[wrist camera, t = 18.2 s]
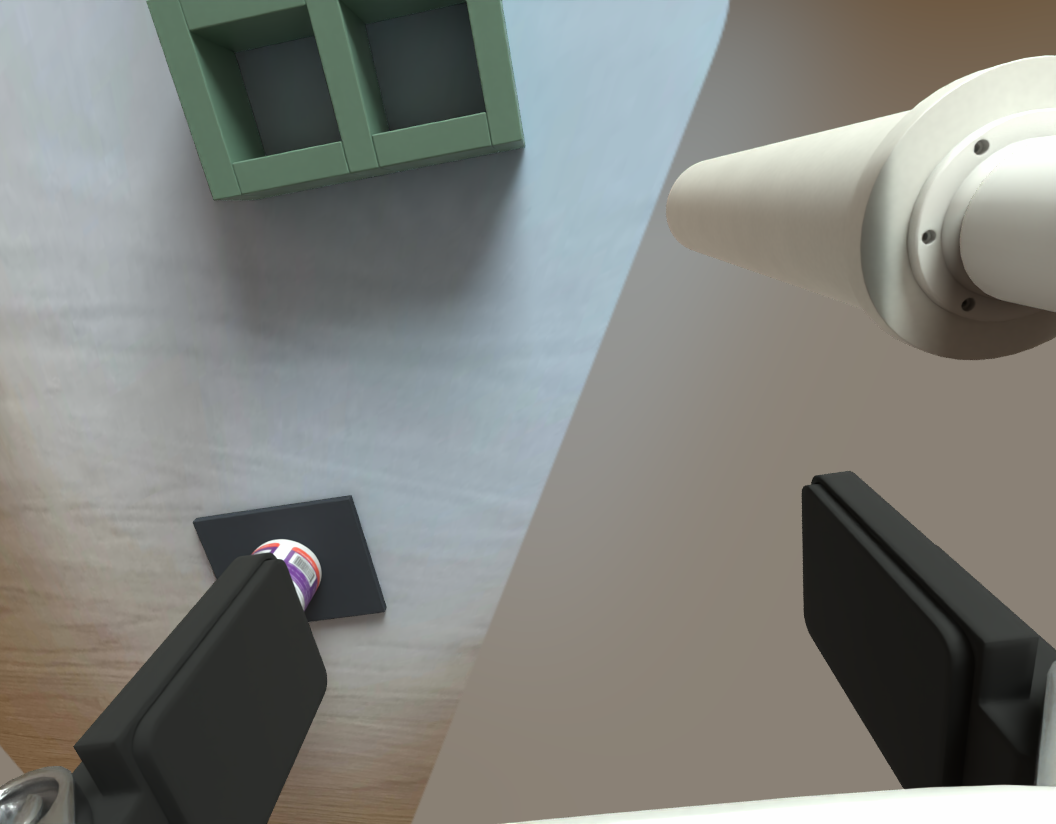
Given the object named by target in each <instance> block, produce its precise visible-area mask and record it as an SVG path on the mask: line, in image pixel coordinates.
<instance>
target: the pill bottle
mask: <svg viewBox="0 0 1056 824" xmlns="http://www.w3.org/2000/svg"><path fill="white" fill-rule="evenodd" d="M268 552H270V553H272V554H274V555H275V556H276V557H277V559H282V560H283V561H284V562H285V563H286V565H287V567H288V570H289V573H290V575H291V578H292V581H293V583H294V586H295V589H296V591H297V594H298V597H299V599H300V602H301V605H302V607H303V610H304V611H305V610H306V608H307V606H308V604H309V603H310V601H311V599H312V597H313V596H314V594H315V592H316V590H317V588H318V586H319V584H320V581H321V577H322V571H321V566H320V563H319V561H318V559H317V558H316V556H315V555H314V553H313V552H312V551H311V550H309V549H308V548H307V547H305V546H304V545H302V544H300V543H298V542H295V541H291V540H285V539H278V540H272V541H268V542H266V543H264V544H262V545H261V546H259V547H258V548H257V549H256V550H255V551H254V552H253V553H252V554H251V555H253V554H260V553H268Z"/></svg>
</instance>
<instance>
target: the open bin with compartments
mask: <svg viewBox="0 0 1056 824" xmlns="http://www.w3.org/2000/svg"><path fill="white" fill-rule="evenodd" d="M465 2H466V3H467V9H468V14H469V20H470V26H471V31H472V37H473V42H474V48H475V53H476V59H477V65H478V70H479V76H480V81H481V87H482V92H483V98H484V104H485V109H486V113H485V112H483V113H478V114H473V115H468V116H463V117H458V118H453V119H448V120H443V121H438V122H433V123H428V124H423V125H418V126H413V127H408V128H403V129H398V130H394V131H389V126H388V122H387V118H386V113H385V109H384V105H383V100H382V96H381V92H380V88H379V83H378V79H377V75H376V70H375V66H374V62H373V57H372V53H371V49H370V45H369V40H368V36H367V32H366V27H365V24H369V23H373V22H378V21H382V20H387V19H392V18H396V17H401V16H405V15H410V14H415V13H419V12H424V11H428V10H433V9H437V8H442V7H447V6H451V5H456V4H460V3H465ZM147 4H148V7H149V10H150V13H151V16H152V19H153V22H154V25H155V28H156V31H157V34H158V37H159V40H160V43H161V46H162V49H163V52H164V55H165V58H166V61H167V64H168V67H169V70H170V73H171V75H172V78H173V81H174V84H175V87H176V90H177V93H178V96H179V99H180V102H181V105H182V108H183V111H184V114H185V117H186V120H187V123H188V126H189V129H190V132H191V135H192V138H193V141H194V144H195V146H196V149H197V152H198V155H199V158H200V161H201V164H202V167H203V170H204V173H205V176H206V179H207V182H208V185H209V188H210V191H211V194H212V197H213V200H258V199H263V198H268V197H273V196H277V195H283V194H288V193H293V192H299V191H304V190H309V189H314V188H319V187H324V186H329V185H334V184H340V183H345V182H350V181H355V180H360V179H365V178H370V177H373V176H374V177H375V176H381V175H386V174H391V173H396V172H398V171H400V172H401V171H406V170H411V169H416V168H422V167H427V166H432V165H437V164H442V163H447V162H452V161H457V160H463V159H468V158H473V157H478V156H483V155H488V154H493V153H497V152H504V151H509V150H514V149H519V148H524V147H525V141H524V135H523V129H522V123H521V116H520V110H519V104H518V98H517V92H516V86H515V79H514V73H513V67H512V61H511V55H510V48H509V42H508V36H507V30H506V24H505V17H504V11H503V5H502V0H147ZM309 36H315V40H316V44H317V47H318V51H319V55H320V59H321V63H322V67H323V71H324V74H325V78H326V82H327V86H328V90H329V94H330V98H331V101H332V105H333V109H334V113H335V117H336V121H337V125H338V128H339V132H340V136H341V140H342V142H341V141H339V142H334V143H329V144H324V145H319V146H314V147H309V148H304V149H299V150H294V151H289V152H284V153H279V154H274V155H269V156H266V155H265V152H264V149H263V146H262V142H261V139H260V136H259V132H258V129H257V126H256V122H255V119H254V116H253V112H252V109H251V106H250V103H249V99H248V96H247V93H246V89H245V86H244V83H243V79H242V76H241V73H240V69H239V66H238V63H237V59H236V56H235V53H236V52H240V51H245V50H250V49H254V48H259V47H263V46H268V45H272V44H277V43H282V42H286V41H291V40H295V39H300V38H305V37H309ZM234 52H235V53H234Z"/></svg>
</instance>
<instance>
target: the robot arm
mask: <svg viewBox="0 0 1056 824" xmlns="http://www.w3.org/2000/svg"><path fill="white" fill-rule="evenodd" d="M974 147H975V149H974ZM923 234H924V236H923V238H922V235H923ZM907 246H908V255H909V263H910V266H911V269H912V272H913V275H914V278H915V279H916V281H917V283H918V284H919V286H920V288H921V289H922V291H923V292H924V293H925V294H926V295H927V296H928V297H929V298H930V299H931V300H932V301H933V302H934V303H935V304H936V305H938V306H940V307H941V308H943V309H945V310H946V311H948V312H950V313H953V314H956V315H959V316H962V317H965V318H970V319H974V320H979V321H1006V320H1012V319H1019V318H1022V317H1025V316H1028V315H1031V314H1034V313H1037V312H1039V311H1041V310H1048V311H1052V312H1056V109H1054V108H1052V109H1040V110H1031V111H1026V112H1021V113H1016V114H1012V115H1009V116H1006V117H1003V118H1001V119H998V120H995V121H993V122H990V123H988V124H987V125H985V126H983V127H981V128H980V129H978V130H976V131H975V132H973V133H971V134H970V135H968V136H967V137H966V138H965V139H963V140H962V141H961V142H960V143H958V144H957V145H956V146H955V147H953V148H952V149H951V150H950V151H949V152H948V154H947V155H946V156H945V157H944V158H943V159H942V160H941V161H940V162H939V163H938V165H937V166H936V167H935V168H934V170H933V171H932V173H931V174H930V176H929V177H928V179H927V180H926V182H925V183H924V185H923V187H922V189H921V191H920V194H919V196H918V198H917V200H916V202H915V204H914V208H913V212H912V215H911V219H910V222H909V230H908V241H907ZM802 534H803V535H802V536H803V595H804V596H803V597H804V618H805V623H806V626H807V629H808V631H809V634H810V635H811V637H812V639H813V641H814V642H815V644H816V646H817V647H818V649H819V651H820V652H821V654H822V655H823V657H824V659H825V660H826V662H827V664H828V665H829V667H830V668H831V670H832V672H833V673H834V675H835V677H836V678H837V680H838V682H839V683H840V685H841V687H842V688H843V690H844V691H845V693H846V695H847V696H848V698H849V700H850V701H851V703H852V705H853V706H854V708H855V710H856V711H857V713H858V715H859V716H860V718H861V720H862V721H863V723H864V724H865V726H866V728H867V729H868V731H869V733H870V734H871V736H872V737H873V739H874V741H875V742H876V744H877V746H878V747H879V749H880V751H881V752H882V754H883V756H884V757H885V759H886V761H887V762H888V764H889V765H890V767H891V769H892V770H893V772H894V774H895V775H896V777H897V779H898V780H899V782H900V784H901V785H902V787H903V788H904V789H901V790H888V791H887V790H886V791H872V792H859V793H844V794H831V795H816V796H802V797H791V798H780V799H768V800H757V801H745V802H735V803H723V804H712V805H701V806H689V807H678V808H666V809H655V810H644V811H633V812H621V813H610V814H599V815H590V816H589V815H588V816H578V817H567V818H557V819H546V820H535V821H525V822H515V823H503V824H1056V650H1055V649H1054V648H1053V647H1052V646H1051V645H1050V644H1048V643H1047V642H1046V641H1045V640H1044V639H1043V638H1042V637H1041V636H1039V635H1038V634H1037V633H1036V632H1035V631H1034V630H1033V629H1032V628H1030V627H1029V626H1028V625H1027V624H1026V623H1025V622H1024V621H1022V620H1021V619H1020V618H1019V617H1018V616H1017V615H1016V614H1014V613H1013V612H1012V611H1011V610H1010V609H1009V608H1008V607H1007V606H1005V605H1004V604H1003V603H1002V602H1001V601H1000V600H999V599H997V598H996V597H995V596H994V595H993V594H992V593H991V592H990V591H988V590H987V589H986V588H985V587H984V586H982V584H980V583H979V582H978V581H977V580H976V579H975V578H973V576H971V575H970V574H969V573H968V572H967V571H965V569H963V568H962V567H961V566H960V565H959V564H958V563H957V562H956V561H954V560H953V559H952V558H951V557H950V556H949V555H948V554H946V553H945V552H944V551H943V550H942V549H941V548H940V547H938V546H937V545H935V544H934V543H932V541H930V540H929V539H928V538H927V537H926V536H925V535H924V534H923V533H921V532H920V531H919V530H918V529H917V528H916V527H915V526H913V525H912V524H911V523H910V522H909V521H908V520H906V519H905V518H904V517H903V516H902V515H901V514H900V513H899V512H898V511H896V510H895V509H894V508H893V507H892V506H891V505H890V504H889V503H887V502H886V501H885V500H884V499H883V498H881V496H879V495H878V494H877V493H876V492H875V491H874V490H873V489H872V488H870V487H869V486H868V485H867V484H866V483H865V482H864V481H862V480H861V479H860V478H859V477H858V476H857V475H856V474H855V473H853V472H851V471H845V472H838V473H831V474H824V475H817V476H814V477H813V479H812V482H811V485H807V486H804V487H803V489H802ZM326 687H327V673H326V669H325V666H324V664H323V661H322V658H321V656H320V653H319V650H318V648H317V645H316V642H315V640H314V637H313V634H312V632H311V629H310V626H309V624H308V621H307V618H306V616H305V613H304V610H303V607H302V605H301V602H300V599H299V597H298V594H297V591H296V589H295V586H294V583H293V581H292V578H291V575H290V573H289V570H288V567H287V565H286V563H285V562H284V561H283V560H282V559H277V557H276V556H275V555H274V554H272V553H270V552H268V553H260V554H253V555H246V556H240V557H237V558H236V559H235V560H234V561H233V562H232V563H231V564H230V565H229V566H228V568H227V569H226V570H225V571H224V572H223V573H222V575H221V576H220V577H219V578H218V579H217V580H216V582H215V583H214V584H213V585H212V586H211V587H210V588H209V590H208V591H207V592H206V593H205V594H204V595H203V597H202V598H201V599H200V600H199V601H198V602H197V604H196V605H195V606H194V607H193V608H192V609H191V611H190V612H189V613H188V614H187V615H186V616H185V617H184V619H183V620H182V621H181V622H180V623H179V624H178V626H177V627H176V628H175V629H174V630H173V631H172V633H171V634H170V635H169V636H168V637H167V638H166V640H165V641H164V642H163V643H162V644H161V645H160V647H159V648H158V649H157V650H156V651H155V652H154V653H153V655H152V656H151V657H150V658H149V659H148V660H147V662H146V663H145V664H144V665H143V666H142V667H141V669H140V670H139V671H138V672H137V673H136V674H135V676H134V677H133V678H132V679H131V680H130V681H129V682H128V684H127V685H126V686H125V687H124V688H123V689H122V691H121V692H120V693H119V694H118V695H117V696H116V698H115V699H114V700H113V701H112V702H111V703H110V705H109V706H108V707H107V708H106V709H105V710H104V711H103V713H102V714H101V715H100V716H99V717H98V718H97V720H96V721H95V722H94V723H93V724H92V725H91V727H90V728H89V729H88V730H87V731H86V732H85V734H84V735H83V736H82V737H81V738H80V739H79V741H78V742H77V743H76V744H75V745H74V746H73V747H74V749H75V750H76V752H77V754H78V755H79V757H80V759H81V760H82V762H81V763H80V765H79V766H78V767H77V768H76V769H75V771H74V772H73V773H71V771H70V770H68V769H66V768H64V767H62V766H53V767H44V768H41V769H37V770H34V771H30V772H28V773H26V774H24V775H21V776H19V777H17V778H15V779H13V780H11V781H9V782H7V783H6V784H4V785H2V786H1V787H0V824H267V822H268V820H269V818H270V815H271V813H272V811H273V809H274V806H275V804H276V802H277V800H278V797H279V795H280V793H281V791H282V788H283V786H284V784H285V782H286V779H287V777H288V775H289V773H290V770H291V768H292V766H293V764H294V762H295V759H296V757H297V755H298V753H299V750H300V748H301V746H302V744H303V741H304V739H305V737H306V735H307V732H308V730H309V728H310V726H311V723H312V721H313V719H314V717H315V714H316V712H317V710H318V708H319V705H320V703H321V701H322V699H323V696H324V694H325V691H326Z"/></svg>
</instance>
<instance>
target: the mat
mask: <svg viewBox="0 0 1056 824" xmlns="http://www.w3.org/2000/svg"><path fill="white" fill-rule="evenodd" d="M193 524H194V527H195V529H196V531H197V534H198V536H199V538H200V541H201V543H202V546H203V548H204V550H205V553H206V555H207V557H208V560H209V562H210V564H211V567H212V569H213V571H214V574H215V576H216V578H217V579H218V578H219V577H220V576H221V575H222V573H223V572H224V571H225V570H226V569H227V568H228V566H229V565H230V564H231V563H232V562H233V561H234V560H235V559H236V558H237V557H240V556H246V555H251V554H252V553H253V552H254V551H255V550H256V549H257V548H258V547H259V546H261V545H262V544H264V543H266V542H268V541H272V540H278V539H285V540H291V541H295V542H298V543H300V544H302V545H304V546H305V547H307V548H308V549H309V550H311V551H312V552H313V553H314V555H315V556H316V558H317V559H318V561H319V563H320V566H321V571H322V577H321V581H320V584H319V586H318V588H317V590H316V592H315V594H314V596H313V597H312V599H311V601H310V603H309V604H308V606H307V608H306V610H305V611H304V613H305V616H306V618H307V621H308V622H311V621H319V620H327V619H334V618H342V617H350V616H358V615H365V614H373V613H381V612H385V610H386V604H385V601H384V598H383V595H382V591H381V588H380V585H379V582H378V579H377V575H376V572H375V569H374V566H373V563H372V559H371V556H370V553H369V550H368V547H367V543H366V540H365V537H364V534H363V531H362V527H361V524H360V521H359V518H358V515H357V512H356V508H355V505H354V502H353V499H352V496H351V495H350V496H344V497H337V498H330V499H323V500H316V501H310V502H303V503H296V504H289V505H282V506H276V507H269V508H262V509H255V510H249V511H242V512H235V513H228V514H221V515H215V516H208V517H201V518H196V519H195V520H194V521H193Z"/></svg>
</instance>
